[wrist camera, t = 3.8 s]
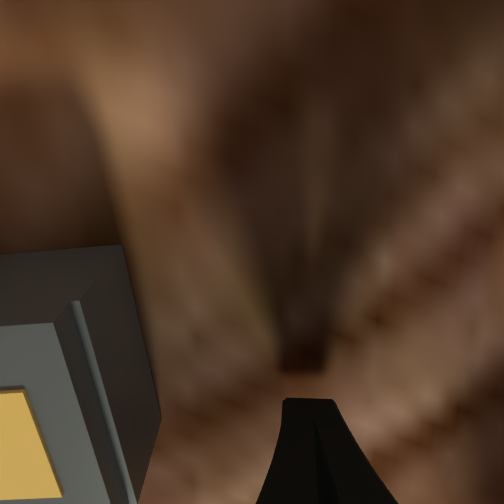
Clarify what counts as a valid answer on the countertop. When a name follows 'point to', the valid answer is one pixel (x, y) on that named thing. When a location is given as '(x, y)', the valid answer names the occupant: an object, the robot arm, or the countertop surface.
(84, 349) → the dark grey square block
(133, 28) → the countertop surface
